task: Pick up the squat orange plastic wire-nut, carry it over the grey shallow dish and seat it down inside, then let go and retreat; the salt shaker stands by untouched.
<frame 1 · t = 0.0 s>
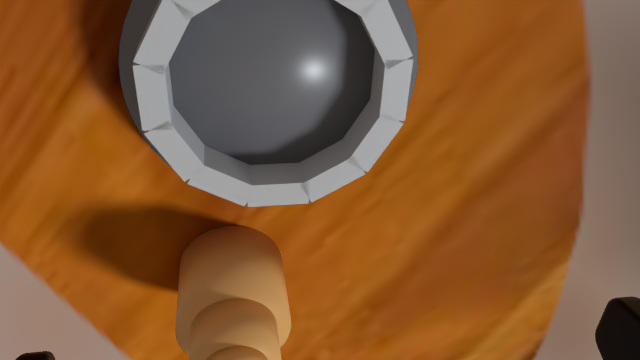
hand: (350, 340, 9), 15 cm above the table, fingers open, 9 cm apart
nut: (231, 265, 27), on the table
grey shallow dish: (272, 67, 22), on the table
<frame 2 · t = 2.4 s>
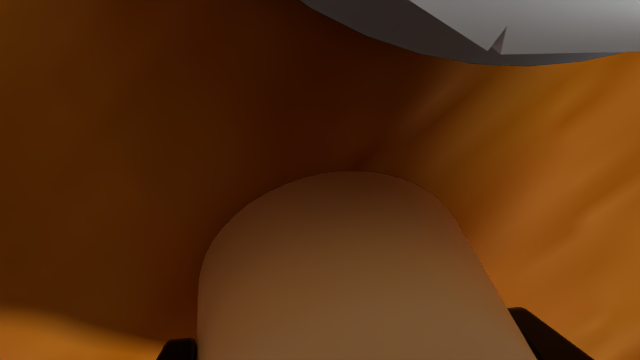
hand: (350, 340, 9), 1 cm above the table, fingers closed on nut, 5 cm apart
nut: (335, 284, 10), on the table, touching gripper
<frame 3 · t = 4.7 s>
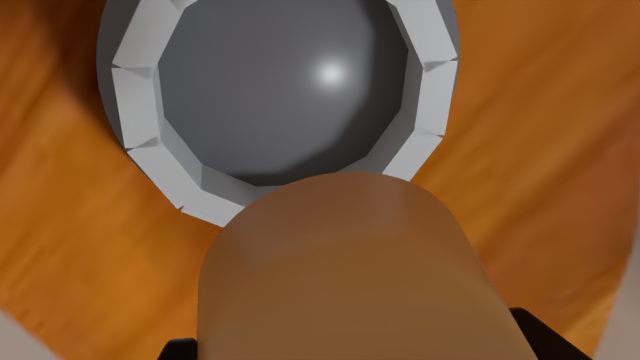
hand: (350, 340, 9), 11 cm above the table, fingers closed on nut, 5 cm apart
nut: (336, 285, 10), point 10 cm above the table, touching gripper
grey shallow dish: (283, 70, 18), on the table
when the fingers open (3 cm above the table, at t = 6.8 s): nut drops 1 cm, resting on grey shallow dish.
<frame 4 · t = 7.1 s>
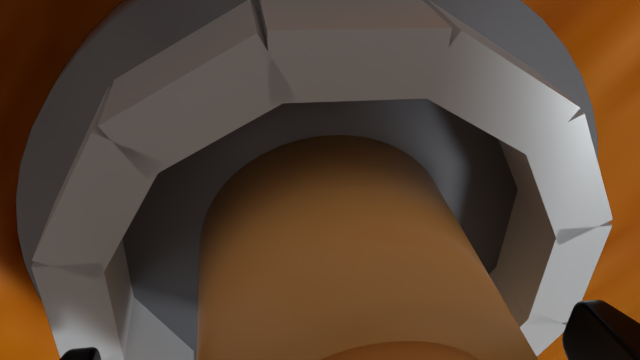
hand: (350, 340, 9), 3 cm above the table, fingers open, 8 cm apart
nut: (325, 243, 11), point 1 cm above the table, touching grey shallow dish
grey shallow dish: (318, 212, 12), on the table
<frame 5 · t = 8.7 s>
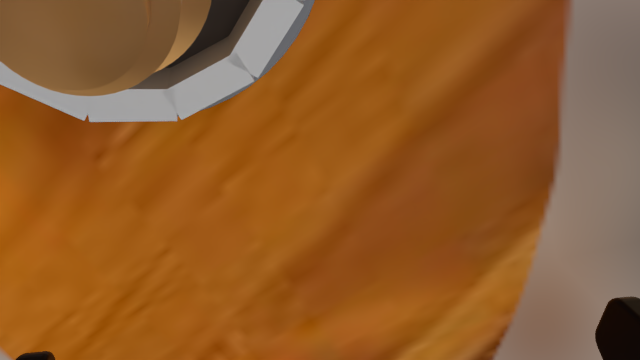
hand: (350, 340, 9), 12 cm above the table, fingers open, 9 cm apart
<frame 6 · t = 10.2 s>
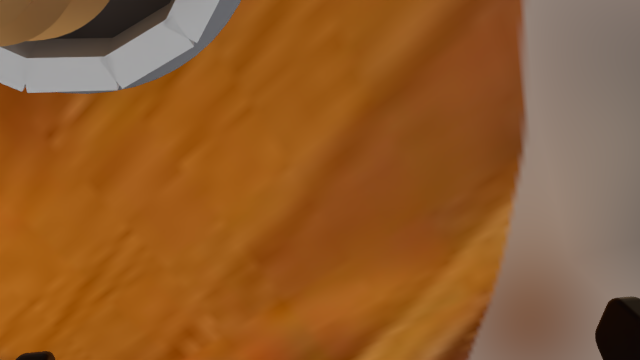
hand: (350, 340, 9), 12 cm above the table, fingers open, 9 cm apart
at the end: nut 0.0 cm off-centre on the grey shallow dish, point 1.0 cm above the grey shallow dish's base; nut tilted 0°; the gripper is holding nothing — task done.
